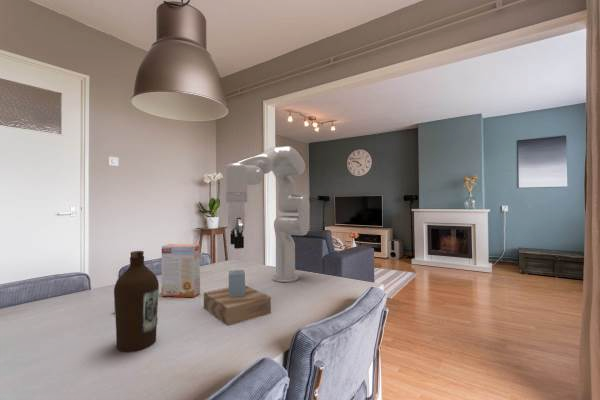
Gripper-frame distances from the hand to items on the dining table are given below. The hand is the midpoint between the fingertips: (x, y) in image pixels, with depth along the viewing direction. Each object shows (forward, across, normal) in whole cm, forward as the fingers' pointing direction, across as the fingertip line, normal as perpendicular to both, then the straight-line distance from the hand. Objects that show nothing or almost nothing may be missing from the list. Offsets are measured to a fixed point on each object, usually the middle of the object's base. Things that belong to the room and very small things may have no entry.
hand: (236, 246), depth 103 cm
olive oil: (+23, +15, -29) cm, 40 cm away
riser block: (+23, 0, 0) cm, 23 cm away
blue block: (+17, 0, 0) cm, 17 cm away
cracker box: (+23, -25, -19) cm, 39 cm away
